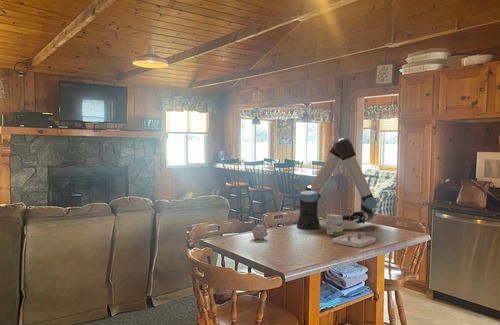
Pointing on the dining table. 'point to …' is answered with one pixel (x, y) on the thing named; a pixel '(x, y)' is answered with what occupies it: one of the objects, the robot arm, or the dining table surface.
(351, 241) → the pin tray
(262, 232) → the die
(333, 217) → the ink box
